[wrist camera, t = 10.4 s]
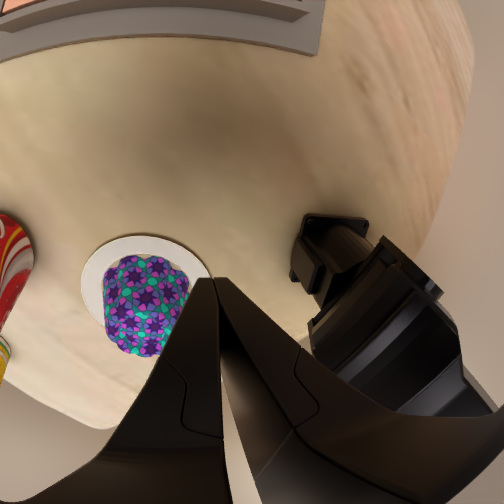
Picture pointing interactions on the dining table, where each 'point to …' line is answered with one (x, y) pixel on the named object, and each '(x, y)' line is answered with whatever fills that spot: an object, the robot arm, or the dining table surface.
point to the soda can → (12, 264)
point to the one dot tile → (18, 5)
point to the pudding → (139, 290)
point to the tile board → (162, 23)
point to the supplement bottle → (3, 357)
